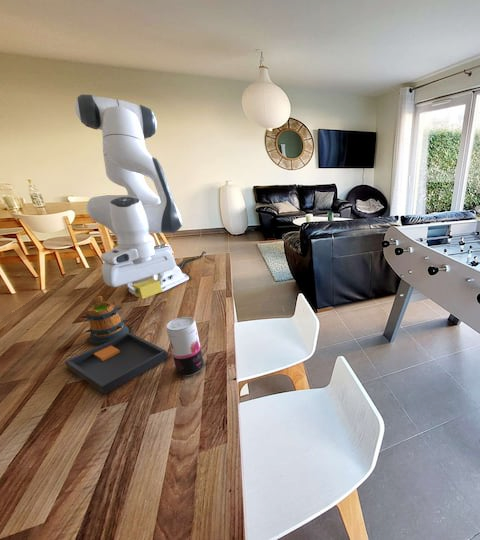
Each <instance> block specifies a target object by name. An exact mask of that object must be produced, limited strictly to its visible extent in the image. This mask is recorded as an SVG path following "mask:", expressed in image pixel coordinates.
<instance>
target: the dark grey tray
mask: <svg viewBox="0 0 480 540" xmlns="http://www.w3.org/2000/svg"><path fill="white" fill-rule="evenodd" d="M109 346H113V347H115V348H117V349H118V350H119V351H120V353H118V354H116V355H114V356H112V357H110V358H108V359H106V360H104V361H101V360H99V359H98V358H96V357H95V356H94V354H93V353H95V352H98V351H100V350H102V349H104V348H106V347H109ZM168 359H169V356H168V352H167V350H165V349H164V348H162V347H159V346H157V345H155V344H153V343H151V342H149V341H148V340H146V339H144V338H141V336H140V337H139V336H138V335H136V334H134V333H132V332H130V331H129V332H128V333H127V334H124V335H122V336H120V337H118V338H115V339H113V340H111V341H109V342H107V343H104V344H101V345H97V346H96V347H94V348H91V349H89V350H87V351H84V352H82V353H80V354H78V355H76V356H73V357H71V358H69V359H65V361H64V363H65V365H66V367H67V369H68V370H69V371H71V372H72V373H74V375H77V376H78V377H79V378H81V379H82V380H83V381H85V382H86V383H88V384H89V385H91V386H92V387H94V388H95V389H96V390H98V391H100V392H101V393H102V394H104V395H106V394H107V393H110V392H112V391H114V390H115V389H117V388H119V387H120V386H122V385H123V384H125V383H127V382H129V381H131V380H132V379H134V378H136V377H138V376H140V375H141V374H142V373H144V372H147V371H148V370H150V369H151V368H153V367H155V366H157V365H159V364H160V363H162V362H164V361H165V360H168Z"/></svg>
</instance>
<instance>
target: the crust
mask: <svg viewBox="0 0 480 540" xmlns="http://www.w3.org/2000/svg"><path fill="white" fill-rule="evenodd" d="M118 353H120V351H119V350H118V349H117V348H115V347H113V346H109V347H106V348H104V349H102V350H100V351H98V352H95V353H93V354H94V356H95V357H96V358H98V359H99V360H101V361H104V360H106V359H108V358H110V357H112V356H114V355H116V354H118Z"/></svg>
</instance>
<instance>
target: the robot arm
mask: <svg viewBox="0 0 480 540" xmlns="http://www.w3.org/2000/svg"><path fill="white" fill-rule="evenodd" d="M74 103H75V104H74V110H75V114H76V115H77V118H78V119H79V120H80V122H81V123H82V124H83V125H84V126H85V127H87V128H90V129H92V130H96V131H98V130H99V131H100V130H101V134H102V136H101V137H102V154H103V162H104V168H105V175H106V177H107V179H108V180H109V181H110V182H112V183H114V184H116V185H118V186H121V187H123V188H125V190H126V192H127V194H104V195H98V196H93V197H91V198H90V199H89V200H88V201H87V203H86V212H87V214H88V216H89V217H90V219H91V220H93V221H94V222H95V223H98V224H99V225H101V226H103V227H105V228H106V229H108V231H109V230H110V232H111V233H112V234H113V235H114V236H115V237H116V243H117V246H115V247H113V248H111V249H109V250H107V251H106V252H104V253H102V254H101V255H100V258H101V260H102V261H103V264H102V265H101V273H102V278H103V281H104V284H105V285H106V286H109V287H111V288H118V287H120V286H125V287H126V288H127V289H128V292H129V293H130V294H131V295H134V294H137V293H139V292H138V288H135V287H132V285H134V284H137V283H140V282H143V281H146V280H149V279H155V280H158V281H160V284H161V288H162V292H161V293H164V292H167V291H169V290H170V289H172V288H173V287H177V286H178V285H180V284H182V283H186V282H187V281H189V280H190V277H189V275H188V274H186V273H184V272H182V270H181V269H182V268H183V267H184V264H185V263H187V262H191V261H193V260H197V259H200V258H201V257H199V256H202V257H204V255H205V254H207V252H206V251H202V252H201V254H200V255H198V256H196V257H197V258H195V257H192V258H193V259H191V258H188V259H189V260H187V259H185V260H183V261H182V262H181V264H180V266H178V265H177V263H176V260H175V257H174V254H173V249H172V246H170V245H169V244H167V243H161V244H159V245H157V244H156V241H155V238H154V237H153V235H151V234H175V233H177V232H178V231H179V230H180V229H181V228H182V227H183V218H182V214H181V212H180V210H179V208H178V206H177V205H176V203H175V200H174V196H173V194H172V191H171V189H170V186H169V183H168V179H167V178H166V174H165V172H164V170H163V167H162V165H161V163H160V162H159V160H158V158H156V157H154V156H152V155H151V154H150V153H149V151H148V149H147V145H146V139H148V138H152V137H153V136H154V135H155V134H156V131H157V127H158V122H157V121H158V120H157V118H156V116H155V114H154V112H153V110H152V109H151V108H150V107H147V106H145V105H142V104H137V103H133V102H130V101H127V100H122V99H118V98H117V99H116V98H110V97H103V96H96V95H95V96H94V95H92V94H79V95H78V96H77V97H76V100H75V102H74ZM145 177H147V178H148V179H150V180H151V181H152V182H153V185H154V187H155V190H156V193H157V194H156V193H155V192H154V191H153V190H152V189H151V188H150V187H149V185H148V183H147V182H146V179H145ZM134 296H135V295H134Z"/></svg>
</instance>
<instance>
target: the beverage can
mask: <svg viewBox="0 0 480 540" xmlns="http://www.w3.org/2000/svg"><path fill="white" fill-rule="evenodd" d="M165 328H166V329H165V330H166V334H167V337H168V341H169V347H170V350H171V354H172V359H173V362H174V367H175V371H176V374H177V375H179V376H182V377H190V376H193V375H196V374H198V373H199V372H200V371H201V370H202V369H203V368H204V365H205V363H204V359H203V353H202V349H201V343H200V338H199V333H198V328H197V322H196V320H195V319H194V318H193V317H190V316H181V317H177V318H174V319H172V320H171V321H169V322H168V323H167V324H166V327H165Z"/></svg>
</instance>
